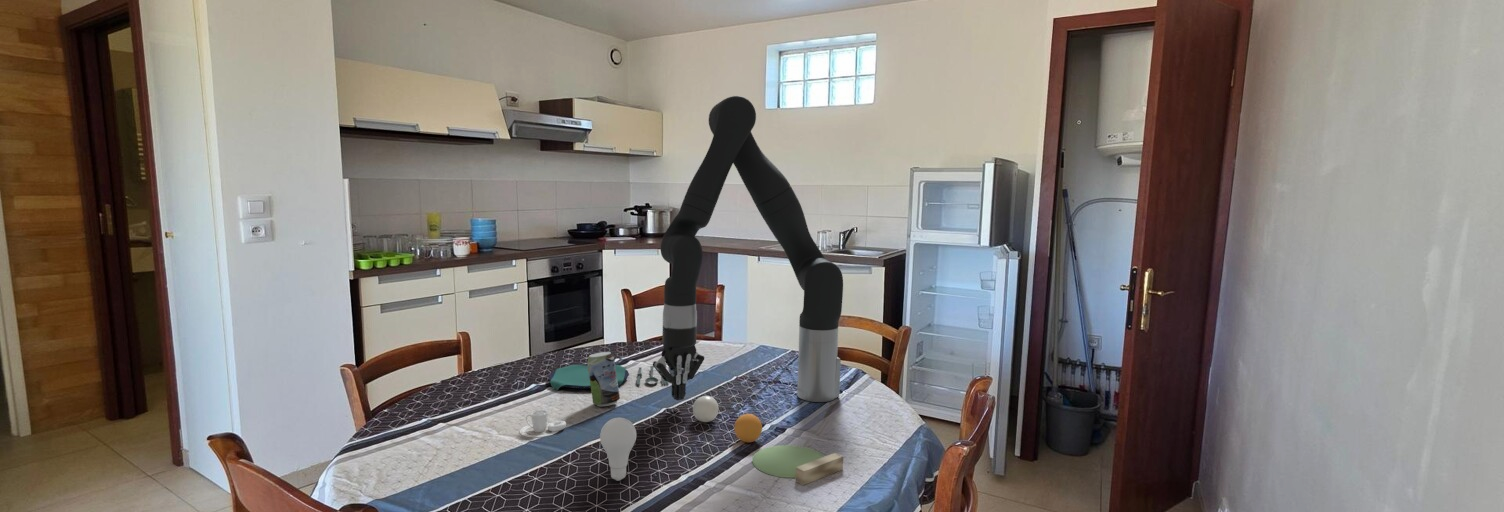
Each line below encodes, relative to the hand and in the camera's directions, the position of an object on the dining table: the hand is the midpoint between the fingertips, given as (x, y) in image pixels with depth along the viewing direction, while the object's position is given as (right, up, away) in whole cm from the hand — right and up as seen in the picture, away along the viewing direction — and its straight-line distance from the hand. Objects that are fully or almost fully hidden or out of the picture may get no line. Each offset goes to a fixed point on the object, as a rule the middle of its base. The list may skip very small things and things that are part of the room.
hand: (678, 399), depth 153 cm
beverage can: (-17, -2, +2) cm, 18 cm away
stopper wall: (+28, -7, -32) cm, 43 cm away
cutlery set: (-20, 0, +21) cm, 29 cm away
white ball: (+7, -1, -7) cm, 10 cm away
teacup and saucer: (-25, -5, -16) cm, 30 cm away
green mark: (+24, -6, -26) cm, 36 cm away
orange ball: (+16, -2, -18) cm, 24 cm away
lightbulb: (-7, -7, -35) cm, 37 cm away
